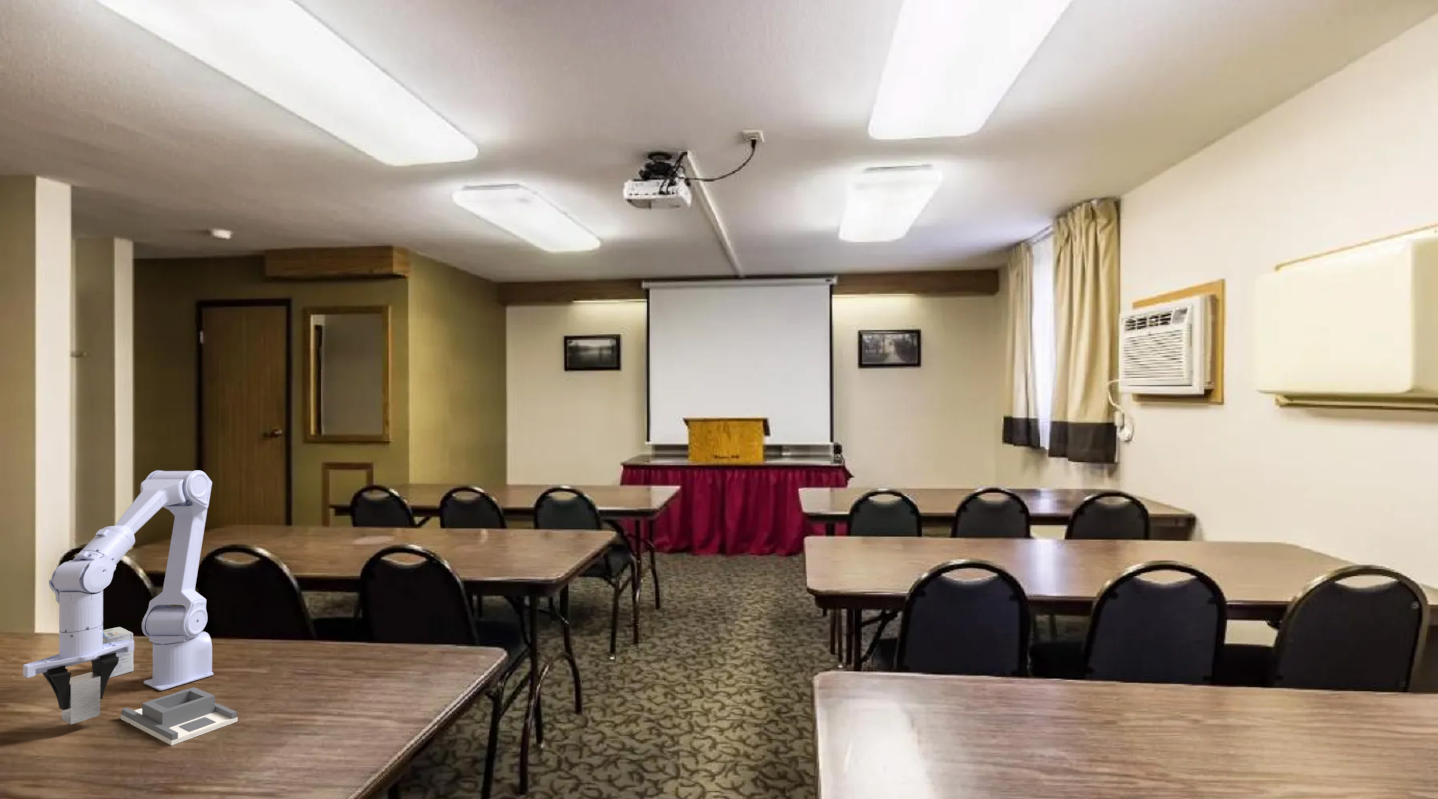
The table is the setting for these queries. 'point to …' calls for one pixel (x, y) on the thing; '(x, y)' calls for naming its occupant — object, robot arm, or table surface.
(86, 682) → the steel square block
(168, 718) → the frame
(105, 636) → the medicine box
